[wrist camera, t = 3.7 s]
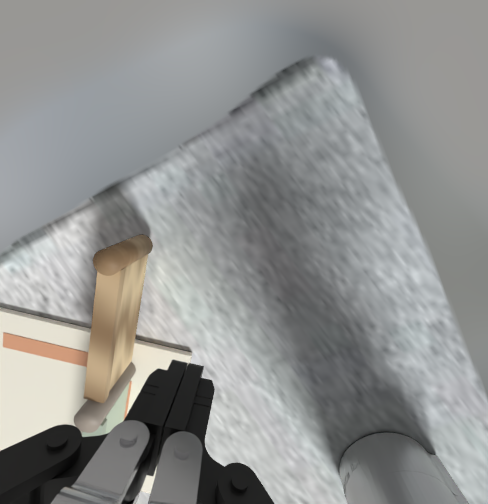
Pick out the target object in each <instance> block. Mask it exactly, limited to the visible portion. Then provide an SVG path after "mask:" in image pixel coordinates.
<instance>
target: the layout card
mask: <svg viewBox="0 0 488 504" xmlns="http://www.w3.org/2000/svg"><path fill="white" fill-rule="evenodd" d="M90 334H91V329H90V328H86V327H82V326H77V325H73V324H69V323H65V322H61V321H56V320H52V319H48V318H44V317H39V316H35V315H31V314H27V313H23V312H18V311H14V310H10V309H6V308H1V307H0V451H1V450H3V449H5V448H8V447H10V446H12V445H14V444H16V443H19V442H21V441H23V440H25V439H27V438H29V437H32V436H34V435H36V434H38V433H40V432H43V431H45V430H47V429H49V428H52V427H54V426H57V425H63V424H68V425H73V426H75V424H74V416H75V414H76V413H77V412H78V411H79V410H80V408H81V407H82V406H83V405H84V403H85V402H86V401H87V399H83V398H84V389H85V380H86V370H87V361H88V352H89V343H90ZM191 356H192V353H191V352H187V351H183V350H179V349H175V348H170V347H166V346H162V345H158V344H153V343H149V342H145V341H141V340H137V339H135V342H134V349H133V355H132V361H131V362H132V363H133V364H134V365H135V368H136V372H135V374H134V375H133V377H132V378H131V380H130V383H129V389H128V396H127V402H126V409H125V415H124V419H125V418H126V416H127V414H128V412H129V410H130V409H131V407H132V405H133V403H134V401H135V400H136V398H137V396H138V394H139V393H140V391H141V389H142V387H143V385H144V384H145V382H146V380H147V378H148V376H149V375H150V374H151V373H152V372H154V371H155V370H156V369H158V368H159V369H163V370H168V367H169V365H170V363H171V361H172V360H178V361H182V362H186V363H188V364H189V363H190V361H191ZM187 366H188V365H187ZM75 427H76V426H75ZM81 434H82V431H81ZM156 469H157V467H156ZM155 474H156V470H155V473H154V476H149V475H146V478H145V481H144V483H143V486H142V489H141V492H146V493H150V494H151V490H152V486H153V483H154V479H155Z"/></svg>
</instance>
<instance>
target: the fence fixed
mask: <svg viewBox="0 0 488 504" xmlns="http://www.w3.org/2000/svg"><path fill="white" fill-rule="evenodd" d="M135 372H136V368H135V365H134V364H133V363H132V362H131V363H130V364H129V365H128V367H127V368H126V369H125V371H124V372H123V374H122V375H121V376H120V378H119V379H118V380H117V382H116V383H115V384H114V386H113V387H112V389H111V390H110V391H109V396H108V398H107V399H106V401H105V402H104V403H100V402H96V401H92V400H87V401H86V402H85V403H84V405H83V406H82V407H81V408H80V410H79V411H78V412H77V413H76V414H75V416H74V424H75V426H76V427H77V428H78V429H79V430H80V431H82V437H89V436H99V435H104V434H107V433H109V432H110V431H111V430H112V429H113V428H114V427H115V426H116V425H118V424H119V423H121V422H123V421H124V415H125V409H126V402H127V396H128V389H129V383H130V380H131V378H132V377H133V375H134V374H135Z"/></svg>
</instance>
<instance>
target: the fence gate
mask: <svg viewBox="0 0 488 504" xmlns="http://www.w3.org/2000/svg"><path fill="white" fill-rule="evenodd" d="M152 248H153V244H152V241H151V240H150V238H149V237H147V236H145V235H137V236H135V237H132V238H130V239H127V240H125V241H122V242H120V243H117V244H115V245H112V246H110V247H107V248H105V249H102V250H100V251H98V252H97V253H96V254H95V255H94V258H93V264H94V267H95V269H96V270H97V279H96V289H95V298H94V307H93V316H92V325H91V334H90V343H89V352H88V361H87V370H86V380H85V389H84V398H83V399H87V400H92V401H96V402H100V403H104V402H105V401H106V399H107V398H108V396H109V391H110V390H111V389H112V387H113V386H114V384H115V383H116V382H117V380H118V379H119V378H120V376H121V375H122V374H123V372H124V371H125V369H126V368H127V367H128V365H129V364H130V363H131V361H132V355H133V349H134V342H135V336H136V329H137V323H138V316H139V310H140V303H141V296H142V290H143V283H144V277H145V270H146V264H147V257H148V254H149V253H150V252H151V250H152Z"/></svg>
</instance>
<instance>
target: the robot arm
mask: <svg viewBox="0 0 488 504" xmlns="http://www.w3.org/2000/svg"><path fill="white" fill-rule="evenodd" d="M187 365H188V366H187ZM203 368H204V366H200V365H196V364H191V363H189V364H188V363H186V362H182V361H178V360H172V361H171V363H170V365H169V367H168V370H163V369H159V368H158V369H156V370H155V371H154V372H152V373H151V374H150V375H149V376H148V378H147V380H146V382H145V384H144V385H143V387H142V389H141V391H140V393H139V394H138V396H137V398H136V400H135V401H134V403H133V405H132V407H131V409H130V410H129V412H128V414H127V416H126V418H125V419H124V421H123V422H121V423H119V424H118V425H116V426H115V427H114V428H113V429H112V430H111V431H110V432H109V433H107V434H104V435H99V436H89V437H82V434H81V431H80V430H79V429H78V428H77V427H75V426H73V425H68V424H63V425H57V426H54V427H52V428H49V429H47V430H45V431H43V432H40V433H38V434H36V435H34V436H32V437H29V438H27V439H25V440H23V441H21V442H19V443H16V444H14V445H12V446H10V447H8V448H5V449H3V450H1V451H0V504H136V502H137V500H138V497H139V492H140V491H141V489H142V486H143V483H144V481H145V478H146V475H149V476H154V473H155V470H156V474H155V479H154V483H153V486H152V490H151V494H150V497H149V501H148V504H274V502H273V501H272V499H271V498H270V496H269V495H268V493H267V492H266V490H265V488H264V487H263V485H262V484H261V482H260V481H259V479H258V478H257V476H256V474H255V473H254V472H253V471H252V470H251V469H250V468H249V467H248V466H246V465H244V464H241V463H231V464H228V465H227V466H225V467H224V466H222V465H221V464H219V463H217V462H216V461H215V460H213V459H212V458H211V457H210V455H209V454H208V452H207V450H206V448H205V435H206V430H207V425H208V420H209V415H210V410H211V405H212V400H213V395H214V390H215V389H214V386H213V383H212V380H208V379H204V378H201V377H202V372H203ZM156 467H157V469H156ZM339 474H340V477H341V481H342V485H343V489H344V494H345V497H346V499H347V503H348V504H469V503H468V501H467V500H466V498H465V497H464V495H463V494H462V492H461V491H460V489H459V488H458V486H457V485H456V483H455V482H454V480H453V479H452V477H451V476H450V474H449V473H448V471H447V470H446V468H445V467H444V465H443V464H442V462H441V461H440V459H439V458H438V456H436V455H432V454H429V453H428V452H427V451H426V450H425V449H424V448H423V447H422V446H421V444H419V443H418V442H417V441H415V440H414V439H412V438H410V437H407V436H405V435H401V434H397V433H376V434H373V435H369V436H366V437H364V438H362V439H360V440H358V441H356V442H355V443H354V444H352V445H351V446H350V447H349V448H348V449H347V450H346V452H345V453H344V455H343V457H342V459H341V462H340V466H339Z"/></svg>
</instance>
